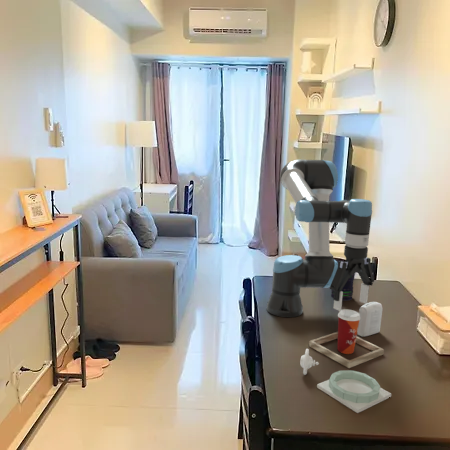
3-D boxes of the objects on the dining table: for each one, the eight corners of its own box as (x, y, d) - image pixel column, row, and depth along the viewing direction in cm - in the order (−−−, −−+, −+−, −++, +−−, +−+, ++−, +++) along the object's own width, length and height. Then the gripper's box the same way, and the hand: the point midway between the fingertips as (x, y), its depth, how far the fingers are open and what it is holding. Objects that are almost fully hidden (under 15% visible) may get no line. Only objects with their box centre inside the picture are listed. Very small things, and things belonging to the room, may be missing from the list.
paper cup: (353, 357, 156) (357, 319, 153) (331, 351, 160) (334, 313, 157) (359, 349, 163) (363, 312, 160) (338, 343, 167) (342, 306, 164)
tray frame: (308, 346, 163) (309, 340, 163) (342, 334, 174) (343, 329, 173) (349, 368, 149) (349, 362, 149) (383, 354, 159) (383, 349, 159)
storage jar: (335, 291, 221) (338, 261, 218) (355, 296, 215) (358, 266, 212) (327, 297, 213) (330, 266, 210) (347, 302, 208) (350, 270, 204)
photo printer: (372, 328, 181) (375, 298, 178) (381, 332, 177) (385, 302, 175) (354, 333, 175) (357, 303, 173) (363, 338, 172) (367, 307, 169)
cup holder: (316, 387, 137) (317, 378, 136) (350, 373, 146) (350, 365, 145) (357, 413, 125) (358, 403, 125) (391, 396, 134) (392, 387, 133)
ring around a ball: (300, 366, 149) (302, 343, 147) (318, 369, 148) (320, 346, 146) (298, 378, 141) (300, 354, 140) (316, 381, 140) (319, 357, 138)
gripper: (340, 252, 143) (334, 316, 148) (388, 244, 158) (382, 302, 162) (322, 247, 149) (317, 308, 153) (370, 239, 164) (364, 296, 168)
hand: (350, 305), depth 158 cm, fingers open, 13 cm apart
